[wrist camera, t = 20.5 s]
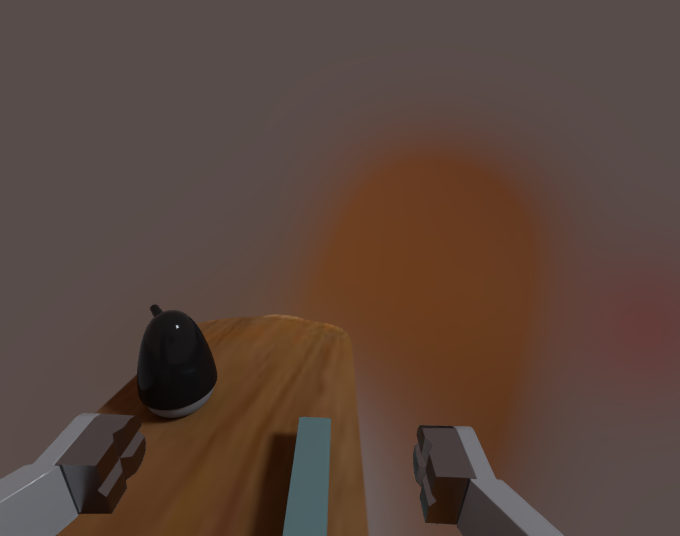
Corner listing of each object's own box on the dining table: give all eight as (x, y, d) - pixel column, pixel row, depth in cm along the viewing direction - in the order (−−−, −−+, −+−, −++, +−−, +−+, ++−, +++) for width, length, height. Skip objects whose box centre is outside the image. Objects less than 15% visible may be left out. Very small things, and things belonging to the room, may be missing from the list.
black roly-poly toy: (198, 369, 56) (187, 288, 51) (232, 402, 50) (224, 313, 44) (131, 401, 49) (110, 311, 43) (161, 444, 43) (140, 345, 37)
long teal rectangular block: (272, 645, 27) (270, 616, 25) (299, 442, 45) (299, 417, 43) (321, 647, 27) (323, 618, 25) (329, 443, 45) (330, 418, 43)
